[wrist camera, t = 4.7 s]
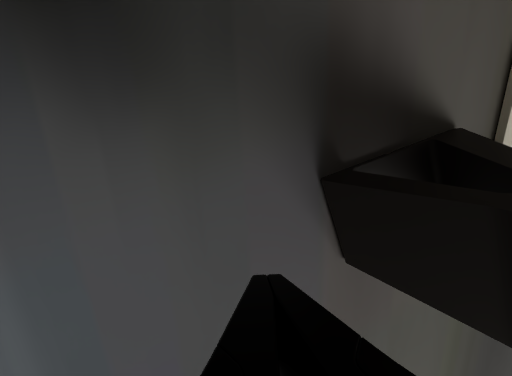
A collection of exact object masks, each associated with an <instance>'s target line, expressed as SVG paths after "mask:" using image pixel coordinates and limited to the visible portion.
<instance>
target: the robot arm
mask: <svg viewBox="0 0 512 376" xmlns="http://www.w3.org/2000/svg"><path fill="white" fill-rule="evenodd" d="M200 376H416V375H414V374H413V373H411V372H410V371H408V370H407V369H405V368H404V367H403V366H401V365H400V364H398V363H397V362H395V361H394V360H392V359H391V358H390V357H388V356H387V355H386V354H384V353H383V352H381V351H380V350H379V349H377V348H376V347H375V346H373V345H372V344H371V343H369V342H368V341H367V340H366V339H364V338H361V336H360V335H359V334H358V333H356V332H355V331H354V330H352V329H351V328H350V327H348V326H347V325H346V324H345V323H343V322H342V321H341V320H339V319H338V318H337V317H335V316H334V315H333V314H332V313H330V312H329V311H328V310H326V309H325V308H324V307H322V306H321V305H320V304H319V303H317V302H316V301H315V300H313V299H312V298H311V297H309V296H308V295H307V294H306V293H304V292H303V291H302V290H300V289H299V288H298V287H296V286H295V285H294V284H293V283H291V282H290V281H289V280H287V279H286V278H285V277H283V276H282V275H281V274H269V275H267V276H266V275H253V276H252V278H251V280H250V282H249V284H248V286H247V288H246V290H245V292H244V294H243V296H242V297H241V299H240V301H239V303H238V305H237V307H236V309H235V311H234V313H233V315H232V317H231V319H230V321H229V323H228V325H227V327H226V329H225V331H224V333H223V335H222V336H221V338H220V340H219V342H218V344H217V347H216V348H215V350H214V352H213V354H212V356H211V358H210V359H209V361H208V363H207V365H206V366H205V368H204V370H203V372H202V374H201V375H200Z"/></svg>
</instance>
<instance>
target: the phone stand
mask: <svg viewBox="0 0 512 376" xmlns="http://www.w3.org/2000/svg"><path fill="white" fill-rule="evenodd" d="M321 181H322V184H323V188H324V191H325V194H326V198H327V201H328V204H329V208H330V211H331V214H332V218H333V221H334V224H335V228H336V231H337V234H338V238H339V241H340V244H341V248H342V251H343V254H344V258H345V261H346V263H347V264H349V265H351V266H353V267H355V268H357V269H359V270H361V271H363V272H365V273H367V274H369V275H371V276H373V277H375V278H377V279H379V280H381V281H382V282H384V283H386V284H388V285H390V286H392V287H394V288H396V289H398V290H400V291H402V292H404V293H406V294H408V295H410V296H412V297H414V298H416V299H417V300H419V301H421V302H423V303H425V304H427V305H429V306H431V307H433V308H435V309H437V310H439V311H441V312H443V313H445V314H447V315H449V316H451V317H453V318H454V319H456V320H458V321H460V322H462V323H464V324H466V325H468V326H470V327H472V328H474V329H476V330H478V331H480V332H482V333H484V334H486V335H488V336H490V337H491V338H493V339H495V340H497V341H499V342H501V343H503V344H505V345H507V346H509V347H511V348H512V147H509V146H507V145H504V144H502V143H499V142H496V141H494V140H491V139H489V138H486V137H483V136H481V135H478V134H476V133H473V132H470V131H468V130H465V129H463V128H457V129H452V130H449V131H447V132H444V133H441V134H439V135H436V136H433V137H430V138H428V139H425V140H422V141H420V142H417V143H414V144H412V145H409V146H406V147H404V148H401V149H398V150H396V151H393V152H391V153H390V154H385V155H382V156H379V157H377V158H374V159H371V160H369V161H366V162H363V163H361V164H358V165H355V166H353V167H350V168H347V169H345V170H342V171H339V172H336V173H334V174H331V175H328V176H326V177H323V178H322V179H321Z"/></svg>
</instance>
